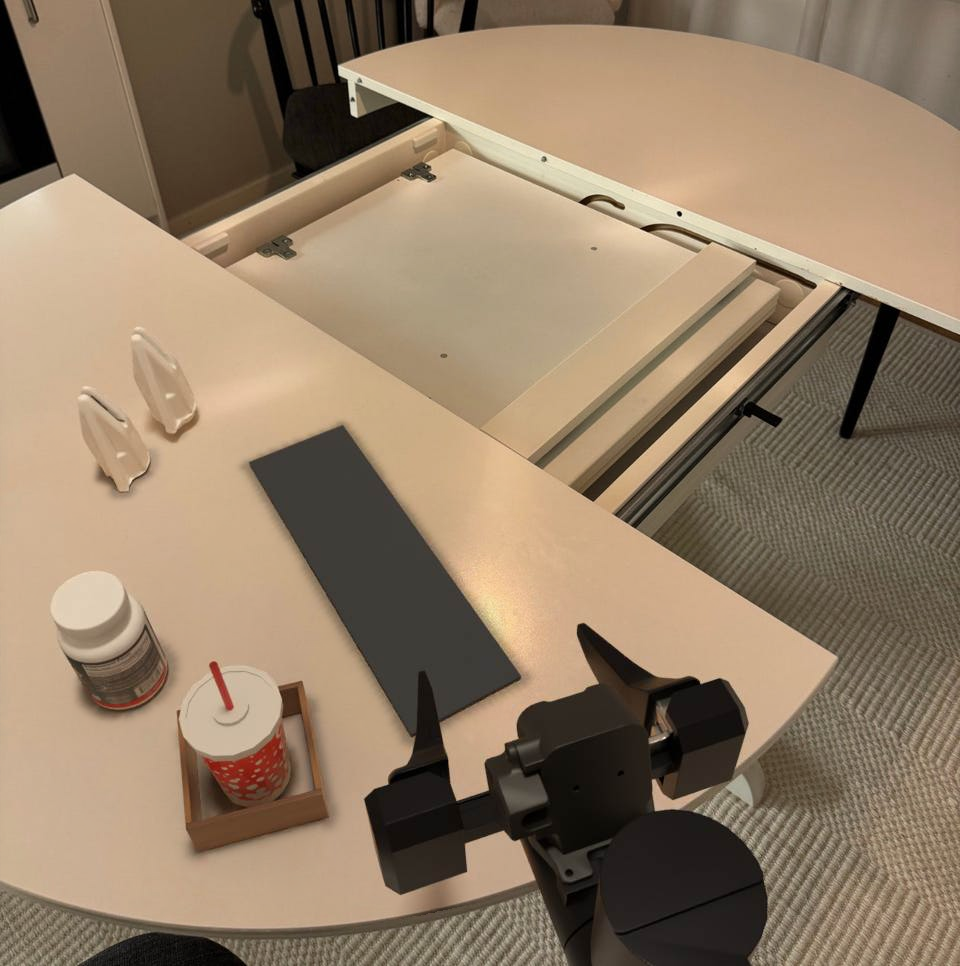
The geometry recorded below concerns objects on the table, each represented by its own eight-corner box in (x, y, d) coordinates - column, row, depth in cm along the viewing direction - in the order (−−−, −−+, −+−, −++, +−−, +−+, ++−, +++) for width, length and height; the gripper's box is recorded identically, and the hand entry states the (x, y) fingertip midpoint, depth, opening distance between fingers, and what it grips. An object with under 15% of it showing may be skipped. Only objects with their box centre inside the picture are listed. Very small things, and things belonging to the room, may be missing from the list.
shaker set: (179, 393, 90) (148, 297, 81) (215, 408, 88) (187, 311, 80) (88, 477, 83) (45, 381, 74) (125, 494, 81) (85, 398, 73)
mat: (521, 678, 69) (521, 675, 69) (411, 737, 66) (411, 734, 66) (343, 427, 87) (342, 424, 86) (249, 464, 84) (248, 461, 83)
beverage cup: (286, 826, 62) (247, 721, 52) (196, 810, 63) (140, 704, 52) (313, 740, 66) (282, 627, 56) (228, 726, 67) (182, 612, 56)
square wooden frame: (329, 817, 62) (322, 794, 60) (198, 851, 61) (185, 829, 58) (308, 705, 68) (302, 680, 65) (188, 735, 66) (176, 710, 64)
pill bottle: (86, 654, 71) (41, 574, 63) (165, 635, 72) (129, 554, 64) (89, 722, 67) (41, 645, 60) (172, 700, 68) (135, 622, 61)
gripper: (853, 763, 38) (672, 504, 49) (402, 923, 34) (313, 602, 45) (797, 885, 46) (651, 638, 57) (423, 1027, 42) (342, 732, 53)
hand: (502, 651), depth 52 cm, fingers open, 9 cm apart
